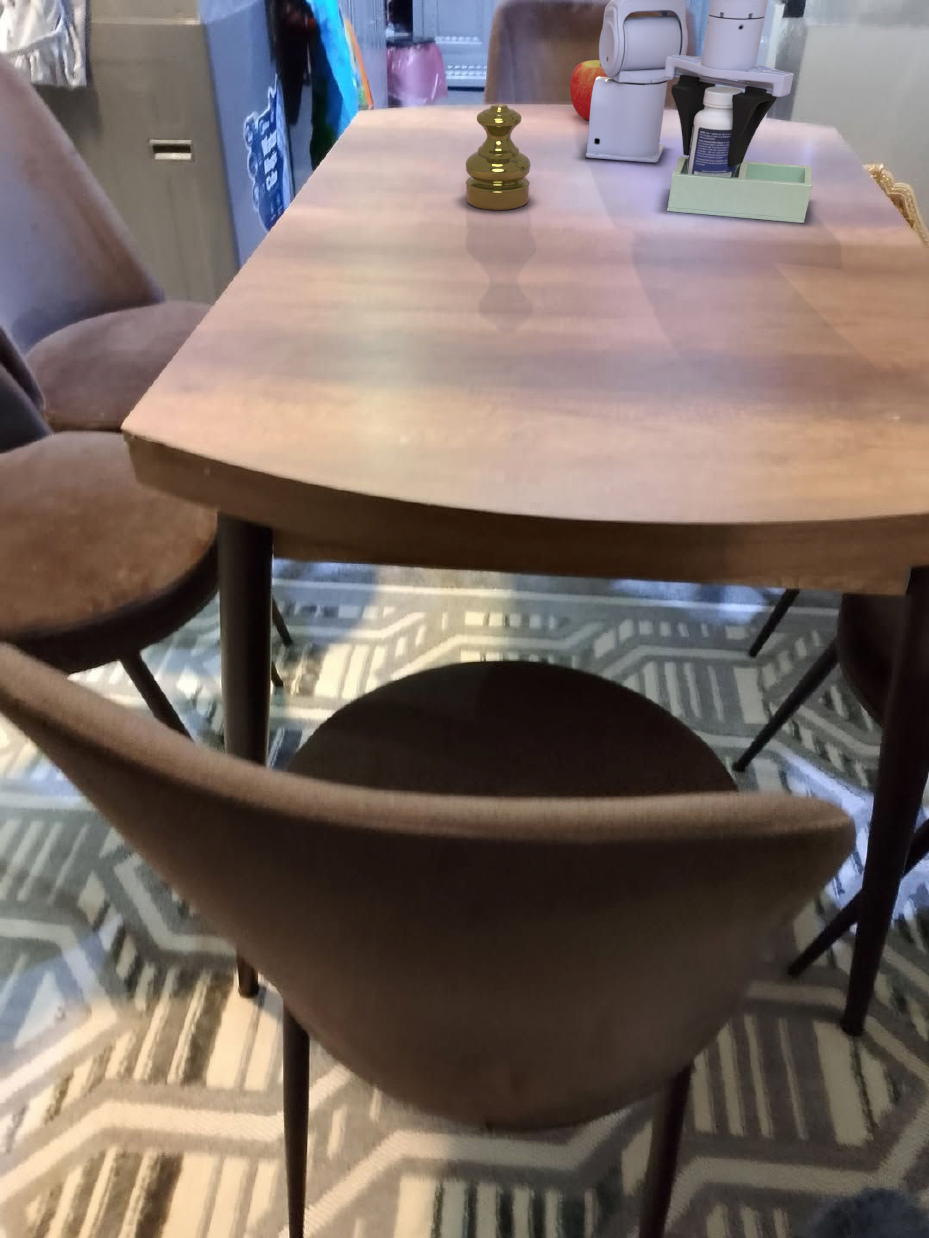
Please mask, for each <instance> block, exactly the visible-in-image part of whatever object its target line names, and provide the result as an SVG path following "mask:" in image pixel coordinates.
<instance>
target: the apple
mask: <svg viewBox="0 0 929 1238" xmlns="http://www.w3.org/2000/svg"><path fill="white" fill-rule="evenodd" d="M597 77H608V76H606V74H605V72H604V70H603V69H602V67H601V64H600V59H597V60H596V59H593V60H586V61H582V62H580V63H579V64H577V65H576V66H575V67H574V69H573V71H572V73H571V78H570V84H569V95H570V99H571V104H572V106H573V108H574V110H575V112H576V114H577V115H578V116H579V117H580V118H582V119H583V120H586V121H589V119H590V107H591V98H592V91H593V86H594V82H595V80H596V78H597Z"/></svg>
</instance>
